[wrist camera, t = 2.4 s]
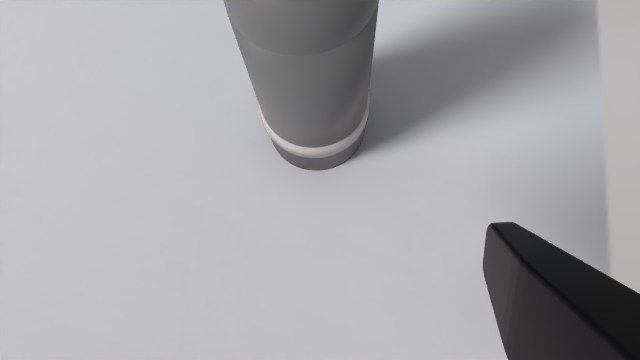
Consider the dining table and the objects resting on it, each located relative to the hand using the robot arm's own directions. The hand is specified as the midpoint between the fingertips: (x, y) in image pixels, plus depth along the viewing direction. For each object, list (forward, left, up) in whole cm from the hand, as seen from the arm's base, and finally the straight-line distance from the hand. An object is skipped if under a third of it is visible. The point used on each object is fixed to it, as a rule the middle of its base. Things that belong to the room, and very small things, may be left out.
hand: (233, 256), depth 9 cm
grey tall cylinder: (+7, -5, -14) cm, 16 cm away
